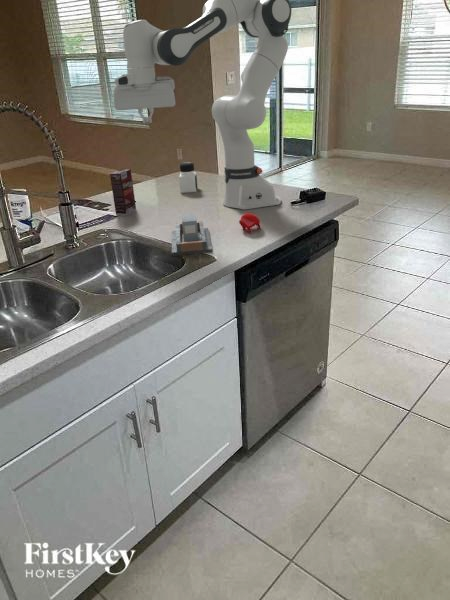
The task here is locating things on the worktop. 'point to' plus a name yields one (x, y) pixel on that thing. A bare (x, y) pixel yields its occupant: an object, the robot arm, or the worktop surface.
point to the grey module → (189, 228)
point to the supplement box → (123, 192)
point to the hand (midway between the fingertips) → (147, 122)
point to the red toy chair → (249, 221)
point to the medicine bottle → (187, 178)
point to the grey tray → (191, 247)
